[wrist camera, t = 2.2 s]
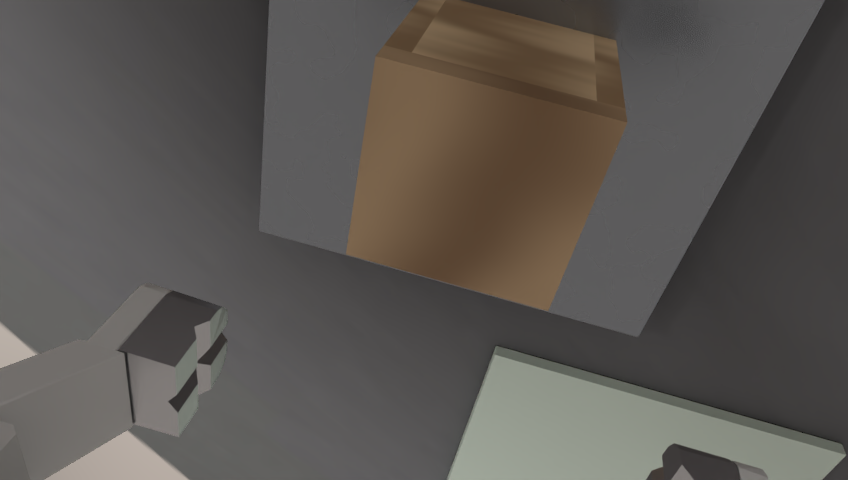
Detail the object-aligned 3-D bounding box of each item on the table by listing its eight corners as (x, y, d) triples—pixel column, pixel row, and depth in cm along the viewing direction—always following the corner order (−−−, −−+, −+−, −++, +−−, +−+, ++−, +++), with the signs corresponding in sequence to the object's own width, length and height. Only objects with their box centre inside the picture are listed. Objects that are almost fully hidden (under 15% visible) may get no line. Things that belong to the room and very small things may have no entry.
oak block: (394, 158, 23) (345, 254, 19) (425, -9, 20) (375, 55, 15) (555, 202, 23) (548, 311, 18) (615, 40, 20) (627, 122, 15)
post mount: (272, 211, 28) (208, 300, 23) (300, -244, 18) (199, -256, 13) (635, 312, 27) (647, 426, 22) (860, -108, 18) (966, -70, 13)
